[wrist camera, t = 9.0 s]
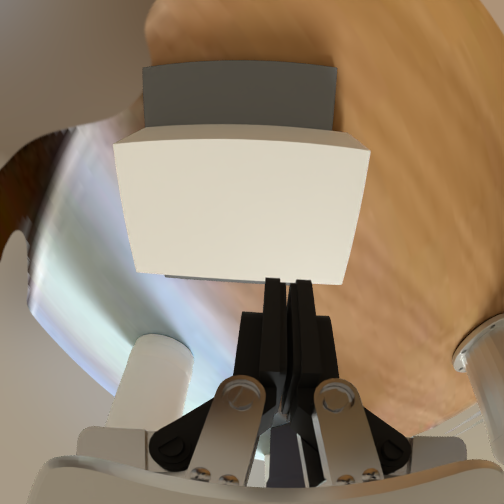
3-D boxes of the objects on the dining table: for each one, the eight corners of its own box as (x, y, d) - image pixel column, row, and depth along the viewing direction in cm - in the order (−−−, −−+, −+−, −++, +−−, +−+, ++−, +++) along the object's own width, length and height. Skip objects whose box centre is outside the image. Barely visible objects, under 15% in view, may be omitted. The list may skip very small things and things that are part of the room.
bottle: (200, 344, 32) (155, 598, 7) (190, 375, 36) (152, 580, 12) (135, 324, 31) (60, 567, 6) (134, 358, 35) (78, 557, 11)
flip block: (370, 151, 14) (113, 144, 14) (341, 284, 19) (136, 272, 19) (347, 132, 18) (146, 127, 18) (330, 244, 23) (158, 234, 23)
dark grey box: (282, 432, 47) (280, 502, 35) (268, 427, 46) (264, 501, 33) (332, 417, 43) (338, 495, 30) (320, 411, 41) (324, 494, 29)
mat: (335, 68, 16) (337, 67, 15) (308, 281, 26) (308, 286, 25) (145, 67, 16) (142, 67, 16) (166, 273, 26) (165, 277, 26)
